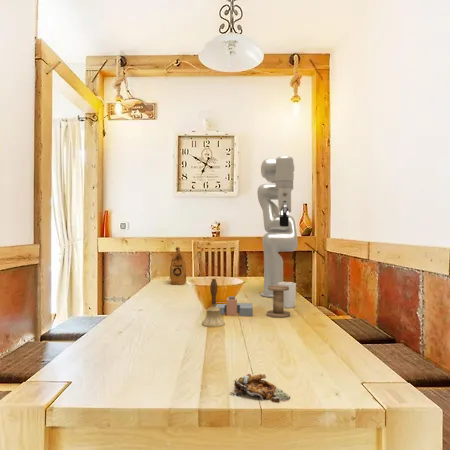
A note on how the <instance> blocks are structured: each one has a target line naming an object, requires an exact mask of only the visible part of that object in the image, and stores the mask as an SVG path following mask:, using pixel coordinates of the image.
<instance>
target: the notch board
mask: <svg viewBox="0 0 450 450" xmlns="http://www.w3.org/2000/svg"><path fill="white" fill-rule="evenodd" d="M253 305H254V304H253V302H246V303H245V302H237V313H239V316H240V317H253V316H254V314H253V312H254V310H253V309H254V306H253ZM216 307H217V308H219V309H220V314H221V315H224V316H225V315H226V313H227V304H217V305H216Z"/></svg>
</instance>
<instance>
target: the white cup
mask: <svg viewBox="0 0 450 450" xmlns="http://www.w3.org/2000/svg"><path fill="white" fill-rule="evenodd" d="M278 285H283V286H288V287H289V290H287V291H284V309H285V308H288V309H291V308H295V307H296V295H297V283H296V282H291V281H283V282H279V283H278Z"/></svg>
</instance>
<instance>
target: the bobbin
mask: <svg viewBox="0 0 450 450" xmlns="http://www.w3.org/2000/svg"><path fill="white" fill-rule="evenodd" d="M268 289H269V290H273V297H272V300H273V301H272V305H273V307H272V310H267V311H266V316H268V317H271V318H280V319H281V318H283V319H284V318H289V317H290V316H291V312H290V311H288V310H285V308H284V291H287V290H289V287H288V286H283V285H271V286H268Z"/></svg>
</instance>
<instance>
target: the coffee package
mask: <svg viewBox="0 0 450 450" xmlns="http://www.w3.org/2000/svg"><path fill="white" fill-rule="evenodd" d="M169 266H170V267H169V278H170V279H169V280H170V282H171V283H170V284H172V286H174V285H175V286H176V285H177V286H179V285H182V286H183V285H185V284H186V282H187V269H186V268H187V267H186V262H185V259H184V254H183V253H182V251H181V247H179V246H176V247H175V252H174V254H173V256H172V257H171V261H170V265H169Z"/></svg>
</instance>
